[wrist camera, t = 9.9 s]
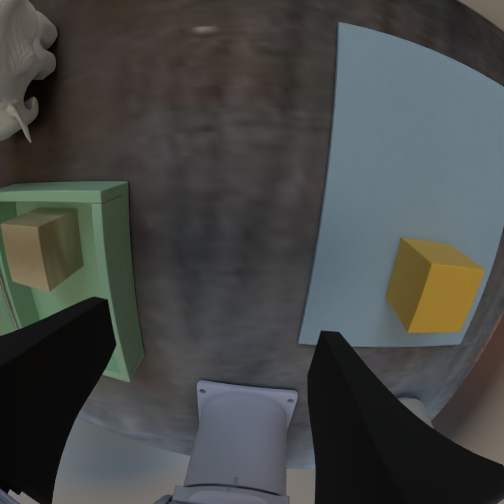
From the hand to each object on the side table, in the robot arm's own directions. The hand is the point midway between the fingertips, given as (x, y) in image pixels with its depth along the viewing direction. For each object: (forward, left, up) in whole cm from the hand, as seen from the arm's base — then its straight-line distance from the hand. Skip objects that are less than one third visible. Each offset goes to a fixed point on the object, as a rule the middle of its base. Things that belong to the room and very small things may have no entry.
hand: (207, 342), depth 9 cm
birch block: (0, +13, -8) cm, 15 cm away
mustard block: (0, -11, -8) cm, 14 cm away
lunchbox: (-3, +13, -8) cm, 15 cm away
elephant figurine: (+12, +17, -9) cm, 22 cm away
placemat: (+4, -11, -8) cm, 15 cm away
